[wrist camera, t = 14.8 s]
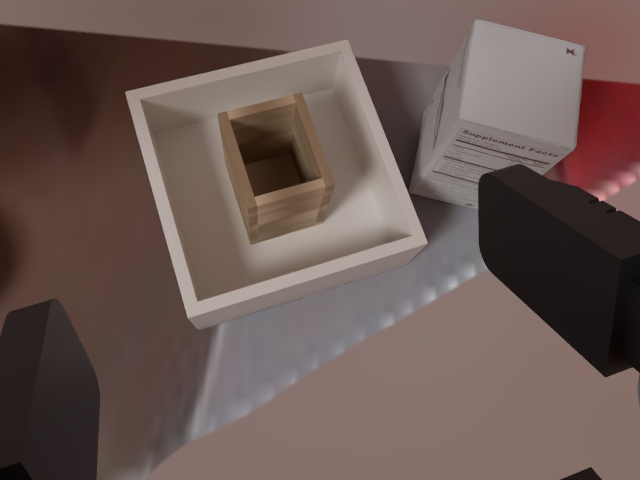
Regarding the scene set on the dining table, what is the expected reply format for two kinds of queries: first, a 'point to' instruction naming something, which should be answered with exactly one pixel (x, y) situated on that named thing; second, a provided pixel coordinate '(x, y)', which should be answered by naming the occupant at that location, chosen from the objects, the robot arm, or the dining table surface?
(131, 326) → the dining table surface
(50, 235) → the dining table surface
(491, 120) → the supplement box
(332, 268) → the big plastic crate
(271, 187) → the small wooden crate
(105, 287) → the dining table surface
